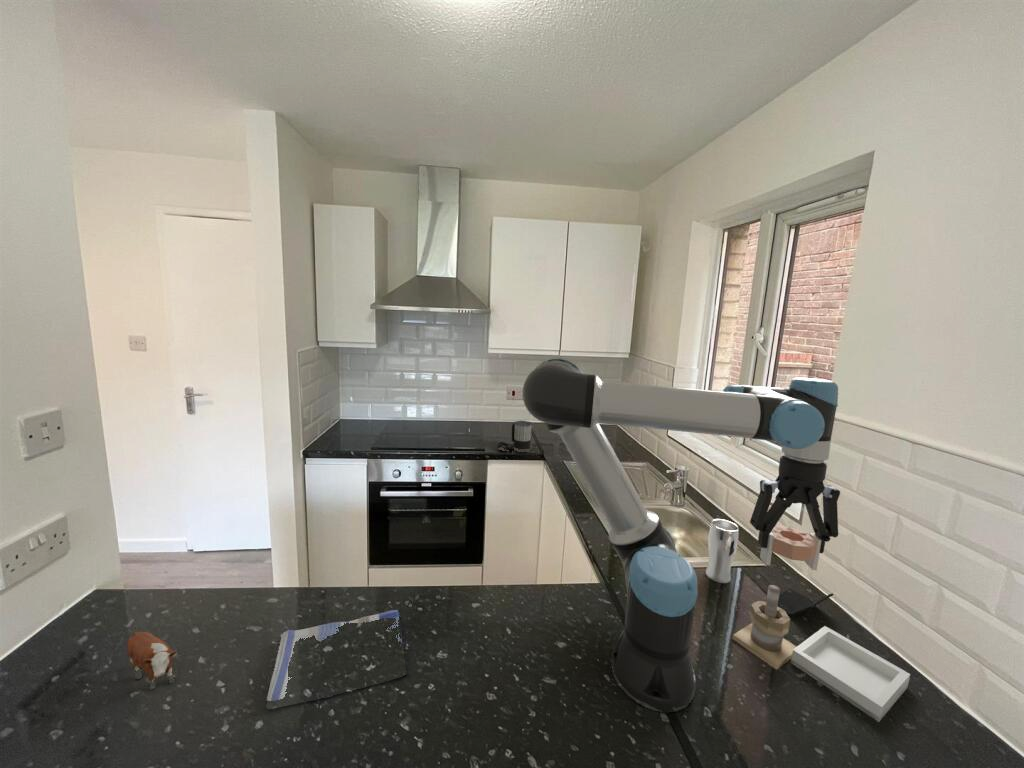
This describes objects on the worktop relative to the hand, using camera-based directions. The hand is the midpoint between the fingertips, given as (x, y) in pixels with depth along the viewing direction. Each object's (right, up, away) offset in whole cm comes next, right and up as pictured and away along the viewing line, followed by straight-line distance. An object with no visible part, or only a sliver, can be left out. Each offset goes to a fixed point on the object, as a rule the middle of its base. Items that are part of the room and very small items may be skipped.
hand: (787, 563), depth 83 cm
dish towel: (-89, -17, -4) cm, 91 cm away
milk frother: (-55, +2, +127) cm, 138 cm away
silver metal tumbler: (0, -16, +27) cm, 31 cm away
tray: (+10, -21, -3) cm, 23 cm away
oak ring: (-2, -14, +3) cm, 15 cm away
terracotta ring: (0, +3, 0) cm, 3 cm away
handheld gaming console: (+13, -18, +16) cm, 28 cm away
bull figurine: (-120, -16, -11) cm, 121 cm away
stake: (-2, -19, +4) cm, 20 cm away
